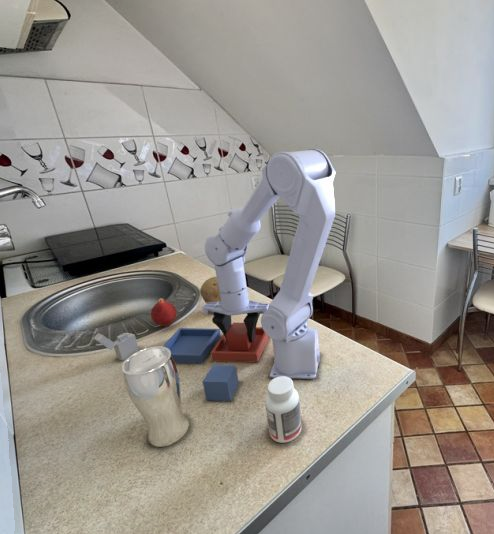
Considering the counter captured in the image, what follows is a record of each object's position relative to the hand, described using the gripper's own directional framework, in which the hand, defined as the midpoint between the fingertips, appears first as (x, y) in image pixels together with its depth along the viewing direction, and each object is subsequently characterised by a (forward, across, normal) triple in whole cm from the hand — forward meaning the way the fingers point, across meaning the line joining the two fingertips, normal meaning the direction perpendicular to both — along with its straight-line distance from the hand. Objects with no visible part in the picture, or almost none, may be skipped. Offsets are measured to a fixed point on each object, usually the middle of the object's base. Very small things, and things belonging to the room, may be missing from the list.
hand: (241, 339), depth 75 cm
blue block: (+2, -1, +14) cm, 14 cm away
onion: (+2, +23, -8) cm, 24 cm away
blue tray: (+2, +12, +1) cm, 12 cm away
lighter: (+2, +26, +5) cm, 27 cm away
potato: (+2, +12, -17) cm, 21 cm away
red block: (+1, 0, 0) cm, 1 cm away
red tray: (+2, 0, 0) cm, 2 cm away
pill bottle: (+2, -15, +22) cm, 27 cm away
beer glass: (+2, +5, +23) cm, 24 cm away
